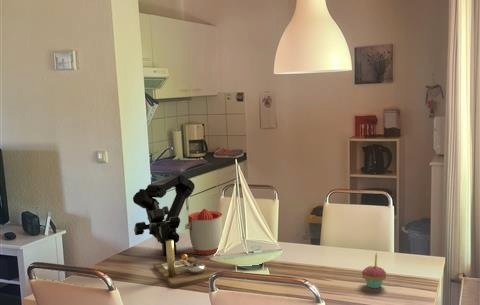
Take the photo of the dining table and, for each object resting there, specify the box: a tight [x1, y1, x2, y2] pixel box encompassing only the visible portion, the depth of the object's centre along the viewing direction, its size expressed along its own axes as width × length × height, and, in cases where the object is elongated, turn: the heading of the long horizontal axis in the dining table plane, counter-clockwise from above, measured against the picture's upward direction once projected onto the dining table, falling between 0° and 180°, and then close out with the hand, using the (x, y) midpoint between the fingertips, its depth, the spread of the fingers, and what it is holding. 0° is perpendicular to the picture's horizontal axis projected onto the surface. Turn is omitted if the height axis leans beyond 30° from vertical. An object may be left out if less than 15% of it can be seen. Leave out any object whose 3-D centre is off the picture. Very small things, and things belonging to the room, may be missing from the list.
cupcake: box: [361, 252, 387, 289], centre depth 174 cm, size 9×8×12 cm
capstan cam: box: [166, 240, 206, 277], centre depth 197 cm, size 19×15×14 cm
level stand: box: [153, 256, 214, 289], centre depth 197 cm, size 26×18×2 cm
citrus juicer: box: [184, 208, 223, 256], centre depth 222 cm, size 16×17×20 cm
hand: (162, 243), depth 198 cm, fingers closed
